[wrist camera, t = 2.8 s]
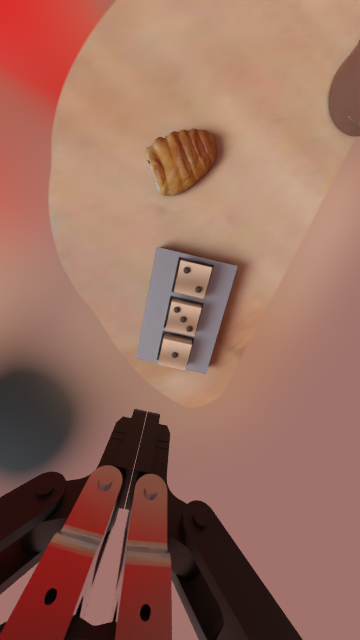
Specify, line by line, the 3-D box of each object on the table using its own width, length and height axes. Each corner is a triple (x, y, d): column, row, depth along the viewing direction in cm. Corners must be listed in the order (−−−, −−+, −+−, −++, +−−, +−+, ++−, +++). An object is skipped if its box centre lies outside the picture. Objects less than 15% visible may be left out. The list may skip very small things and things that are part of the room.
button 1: (165, 332, 35) (163, 339, 32) (191, 338, 35) (192, 345, 32) (159, 357, 36) (157, 365, 33) (185, 362, 36) (185, 371, 33)
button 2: (181, 260, 32) (180, 260, 29) (210, 266, 32) (212, 267, 29) (174, 289, 33) (173, 292, 30) (202, 295, 33) (204, 299, 30)
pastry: (205, 121, 29) (208, 101, 25) (223, 174, 31) (228, 162, 27) (142, 155, 30) (137, 141, 26) (163, 204, 32) (160, 197, 28)
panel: (158, 247, 33) (156, 246, 31) (234, 265, 34) (237, 266, 31) (139, 352, 38) (135, 358, 36) (204, 366, 39) (206, 373, 36)
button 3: (172, 298, 33) (171, 301, 31) (200, 304, 33) (201, 308, 31) (166, 324, 34) (165, 330, 32) (193, 331, 34) (194, 336, 32)
